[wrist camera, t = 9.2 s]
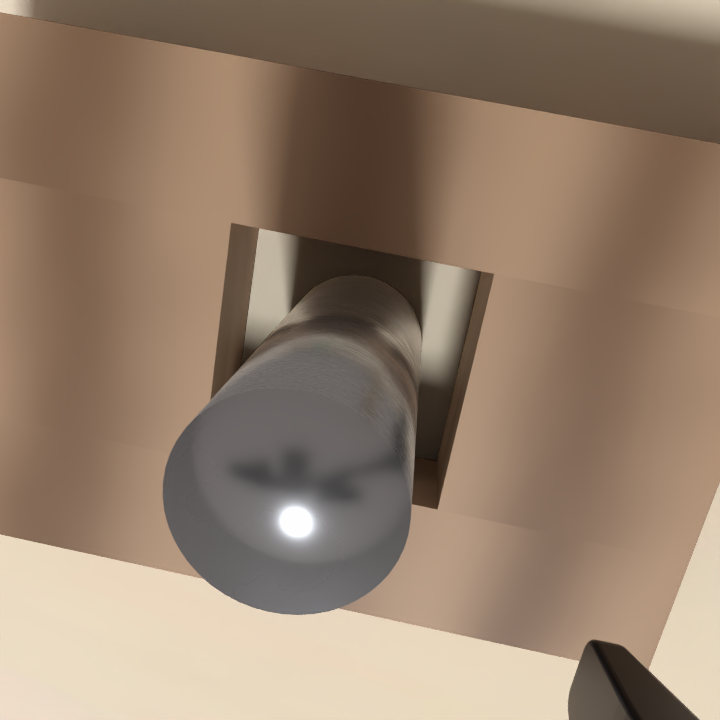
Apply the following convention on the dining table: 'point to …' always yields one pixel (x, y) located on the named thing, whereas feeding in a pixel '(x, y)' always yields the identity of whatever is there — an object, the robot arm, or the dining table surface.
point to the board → (384, 234)
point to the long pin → (305, 456)
